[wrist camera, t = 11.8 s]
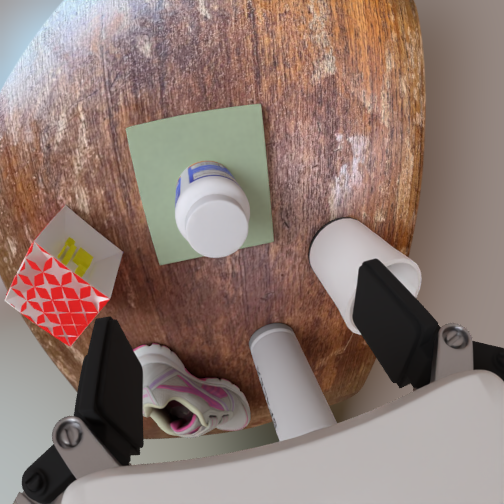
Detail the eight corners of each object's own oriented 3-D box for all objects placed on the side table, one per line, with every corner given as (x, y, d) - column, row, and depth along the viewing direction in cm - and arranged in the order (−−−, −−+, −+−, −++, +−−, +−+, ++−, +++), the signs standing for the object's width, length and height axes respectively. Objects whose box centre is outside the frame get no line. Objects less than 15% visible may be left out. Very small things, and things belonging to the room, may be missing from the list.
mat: (127, 127, 23) (125, 128, 23) (258, 103, 25) (261, 103, 24) (160, 261, 30) (159, 265, 30) (271, 238, 32) (274, 242, 31)
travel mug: (303, 330, 40) (367, 455, 23) (272, 359, 42) (319, 482, 25) (272, 313, 37) (334, 456, 20) (239, 346, 39) (280, 485, 22)
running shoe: (221, 416, 47) (231, 464, 39) (109, 366, 36) (103, 425, 28) (259, 392, 46) (275, 442, 37) (145, 332, 34) (143, 397, 26)
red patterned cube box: (123, 252, 29) (110, 299, 22) (86, 297, 30) (70, 347, 24) (64, 204, 25) (33, 240, 18) (32, 256, 26) (3, 299, 20)
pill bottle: (208, 225, 29) (222, 283, 21) (163, 192, 26) (157, 239, 18) (246, 183, 28) (277, 225, 19) (202, 146, 25) (214, 172, 17)
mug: (304, 218, 32) (351, 269, 23) (373, 208, 33) (430, 250, 24) (303, 298, 37) (337, 358, 29) (363, 284, 39) (405, 333, 30)
